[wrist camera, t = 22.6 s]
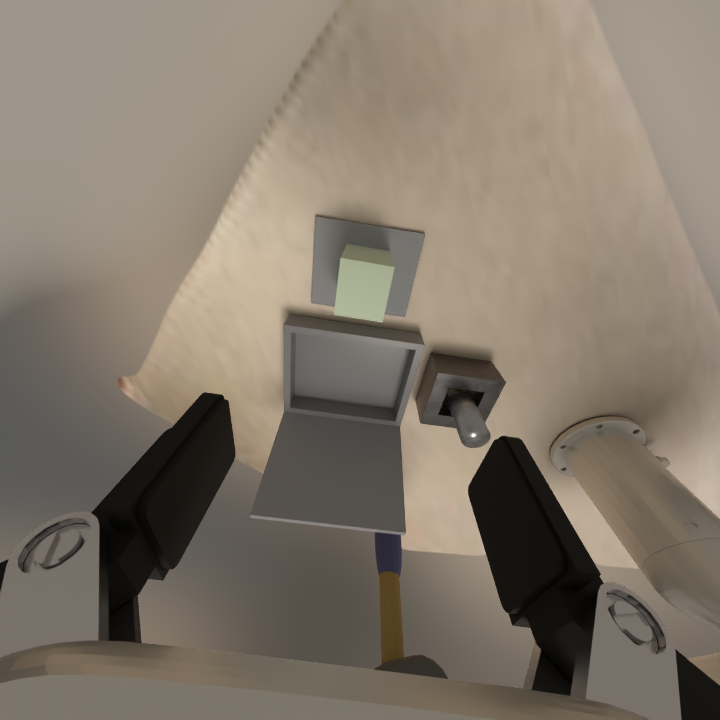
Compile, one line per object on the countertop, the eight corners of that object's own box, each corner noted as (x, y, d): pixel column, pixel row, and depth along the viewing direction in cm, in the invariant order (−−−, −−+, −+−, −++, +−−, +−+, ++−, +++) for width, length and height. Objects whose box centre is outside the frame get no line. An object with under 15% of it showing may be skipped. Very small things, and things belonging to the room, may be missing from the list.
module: (390, 251, 29) (394, 267, 23) (380, 297, 31) (382, 322, 25) (347, 243, 28) (340, 257, 22) (341, 290, 31) (333, 314, 25)
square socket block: (491, 361, 36) (506, 382, 32) (470, 408, 40) (480, 431, 36) (431, 353, 35) (438, 372, 32) (415, 400, 40) (420, 423, 36)
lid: (405, 532, 28) (404, 535, 29) (399, 426, 38) (398, 429, 39) (249, 514, 28) (250, 517, 28) (284, 411, 38) (284, 415, 38)
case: (420, 333, 34) (424, 345, 31) (398, 411, 41) (399, 426, 38) (290, 314, 33) (283, 324, 31) (289, 397, 40) (284, 411, 38)
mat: (424, 233, 28) (425, 234, 28) (404, 315, 33) (404, 317, 32) (316, 216, 28) (315, 216, 27) (312, 301, 32) (311, 303, 32)
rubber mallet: (384, 449, 45) (399, 787, 20) (422, 464, 47) (483, 795, 21) (350, 489, 51) (329, 788, 26) (386, 501, 53) (399, 793, 27)
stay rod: (466, 374, 37) (494, 429, 28) (459, 392, 38) (484, 449, 30) (444, 371, 37) (466, 425, 28) (438, 389, 38) (457, 445, 30)
